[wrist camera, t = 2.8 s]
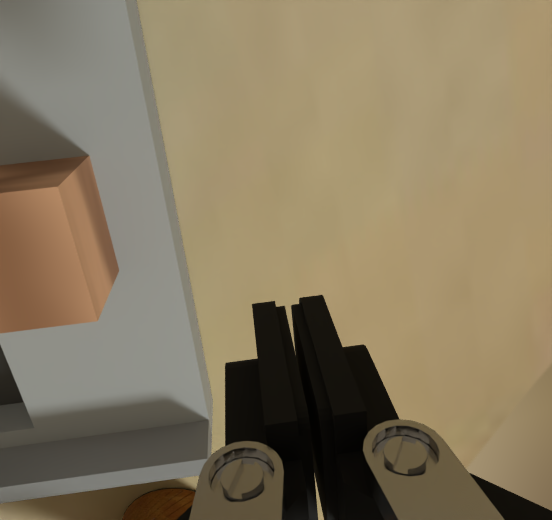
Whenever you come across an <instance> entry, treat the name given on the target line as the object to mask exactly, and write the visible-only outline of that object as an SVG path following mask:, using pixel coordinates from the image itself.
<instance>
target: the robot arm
mask: <svg viewBox="0 0 552 520" xmlns="http://www.w3.org/2000/svg"><path fill="white" fill-rule="evenodd" d="M252 308H253V318H254V327H255V337H256V347H257V356H258V359H251V360H244V361H236V362H229V363H226V364H225V446H224V447H222V448H220V449H219V450H218V451H216V452H215V453H213V454H212V455H211V456H210V457H209V459H208V460H207V461H206V462H205V463H204V465H203V468H202V470H201V472H200V475H199V480H198V484H197V488H196V492H195V497H194V501H193V504H192V505H191V506H190V507H189V508H188V509H187V510H186V511H185V512H184V513H183V514H182V515H181V516H180V517H179V518H178V519H177V520H318V513H317V501H316V489H315V478H316V482H317V487H318V492H319V497H320V502H321V507H322V512H323V516H324V520H552V511H550V510H548V509H546V508H544V507H542V506H540V505H538V504H535V503H533V502H531V501H529V500H527V499H524V498H522V497H520V496H518V495H516V494H514V493H512V492H509V491H507V490H505V489H503V488H501V487H499V486H497V485H494V484H492V483H490V482H488V481H486V480H484V479H481V478H479V477H477V476H475V475H473V474H471V473H469V472H468V471H467V470H466V468H465V467H464V466H463V465H462V463H461V462H460V461H459V459H458V458H457V457H456V455H455V454H454V453H453V451H452V450H451V449H450V447H449V446H448V445H447V444H446V442H445V441H444V440H443V438H442V437H441V436H439V435H438V434H437V433H436V432H435V431H434V430H433V429H431V428H429V427H427V426H426V425H424V424H421V423H418V422H415V421H411V420H400V419H399V417H398V415H397V413H396V411H395V409H394V406H393V404H392V402H391V400H390V398H389V396H388V393H387V391H386V389H385V387H384V385H383V382H382V380H381V378H380V376H379V374H378V371H377V369H376V367H375V365H374V363H373V360H372V358H371V356H370V354H369V352H368V350H367V348H366V346H365V345H356V346H349V347H342V345H341V342H340V339H339V337H338V334H337V331H336V329H335V326H334V324H333V321H332V318H331V316H330V313H329V310H328V308H327V305H326V302H325V300H324V297H323V295H318V296H310V297H303V298H299V304H295V305H292V306H291V309H292V320H293V331H294V342H295V351H294V346H293V342H292V337H291V333H290V328H289V324H288V319H287V315H286V310H285V306H280V307H276V305H275V301H271V302H264V303H256V304H252ZM295 353H296V355H295ZM314 473H315V477H314Z"/></svg>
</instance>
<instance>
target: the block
mask: <svg viewBox="0 0 552 520" xmlns="http://www.w3.org/2000/svg"><path fill="white" fill-rule="evenodd" d="M118 272H119V267H118V263H117V260H116V256H115V252H114V248H113V244H112V240H111V236H110V233H109V229H108V225H107V221H106V217H105V213H104V210H103V206H102V202H101V198H100V194H99V190H98V187H97V183H96V179H95V175H94V171H93V167H92V163H91V160H90V156H80V157H71V158H62V159H53V160H44V161H35V162H26V163H17V164H8V165H0V333H8V332H16V331H24V330H32V329H40V328H48V327H56V326H64V325H72V324H80V323H88V322H96V321H98V320H99V317H100V315H101V312H102V310H103V308H104V305H105V303H106V301H107V298H108V296H109V294H110V291H111V289H112V287H113V284H114V282H115V280H116V277H117V275H118Z"/></svg>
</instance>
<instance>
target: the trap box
mask: <svg viewBox="0 0 552 520" xmlns="http://www.w3.org/2000/svg"><path fill="white" fill-rule="evenodd" d="M80 156H90V160H91V163H92V167H93V171H94V175H95V179H96V183H97V187H98V190H99V194H100V198H101V202H102V206H103V210H104V213H105V217H106V221H107V225H108V229H109V233H110V236H111V240H112V244H113V248H114V252H115V256H116V260H117V263H118V267H119V272H118V275H117V277H116V280H115V282H114V284H113V287H112V289H111V291H110V294H109V296H108V298H107V301H106V303H105V305H104V308H103V310H102V312H101V315H100V317H99V320H98V321H96V322H88V323H80V324H72V325H64V326H56V327H48V328H40V329H32V330H24V331H16V332H8V333H0V503H7V502H14V501H21V500H28V499H36V498H43V497H50V496H57V495H64V494H71V493H78V492H85V491H92V490H99V489H106V488H113V487H120V486H128V485H135V484H142V483H149V482H156V481H163V480H170V479H177V478H184V477H191V476H198V475H200V472H201V470H202V468H203V465H204V463H205V462H206V461H207V460H208V459H209V457H210V456H211V444H212V412H213V399H212V394H211V389H210V384H209V378H208V373H207V368H206V363H205V357H204V352H203V347H202V342H201V337H200V331H199V326H198V321H197V316H196V310H195V305H194V300H193V295H192V289H191V284H190V279H189V274H188V268H187V263H186V258H185V253H184V247H183V242H182V237H181V232H180V227H179V221H178V216H177V211H176V206H175V200H174V195H173V190H172V185H171V179H170V174H169V169H168V164H167V158H166V153H165V148H164V143H163V137H162V132H161V127H160V122H159V117H158V111H157V106H156V101H155V96H154V90H153V85H152V80H151V75H150V69H149V64H148V59H147V54H146V48H145V43H144V38H143V33H142V27H141V22H140V17H139V12H138V7H137V1H136V0H0V165H8V164H17V163H26V162H35V161H44V160H53V159H62V158H71V157H80Z"/></svg>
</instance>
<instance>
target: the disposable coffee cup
mask: <svg viewBox="0 0 552 520" xmlns="http://www.w3.org/2000/svg"><path fill="white" fill-rule="evenodd" d="M194 497H195V492H193V491H190V490H185V489H162V490H157V491H153V492H150V493H148V494H145V495H143V496H141V497H140V498H138V499H136V500H135V501H134V502H133V503H132V504H131V505H130V506H129V507H128V508H127V510H126V512H125V513H124V516H123V519H122V520H177V519H178V518H179V517H180V516H181V515H182V514H183V513H184V512H185V511H186V510H187V509H188V508H189V507H190V506H191V505H192V504H193V501H194Z"/></svg>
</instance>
